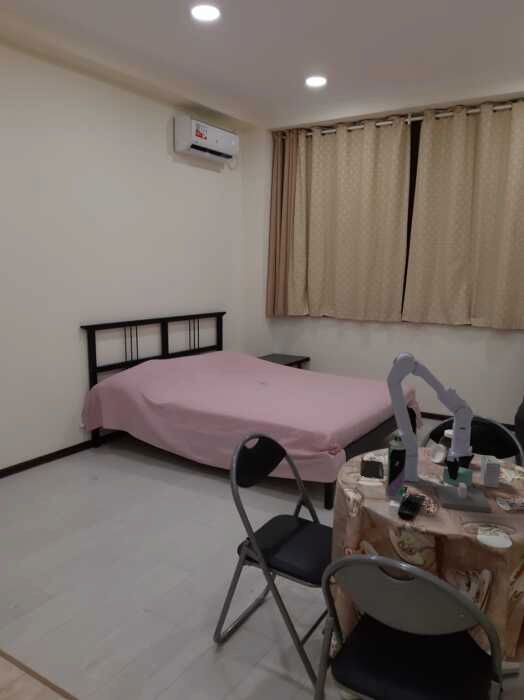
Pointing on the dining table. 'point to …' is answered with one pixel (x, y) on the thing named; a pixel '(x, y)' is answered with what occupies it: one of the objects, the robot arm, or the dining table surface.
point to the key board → (462, 498)
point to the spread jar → (442, 448)
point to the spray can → (395, 468)
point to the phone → (371, 469)
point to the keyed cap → (459, 477)
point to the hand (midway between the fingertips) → (458, 476)
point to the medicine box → (490, 471)
